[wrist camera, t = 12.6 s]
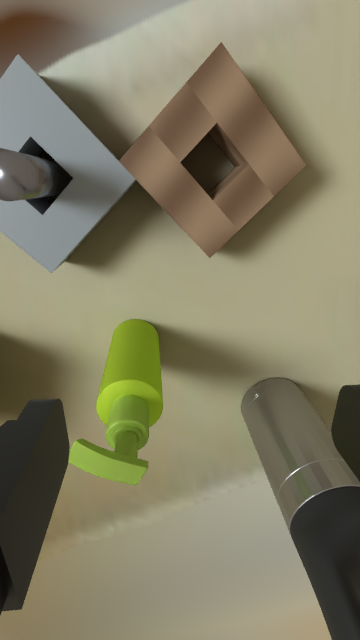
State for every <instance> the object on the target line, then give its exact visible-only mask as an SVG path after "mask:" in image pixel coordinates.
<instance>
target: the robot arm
mask: <svg viewBox="0 0 360 640" xmlns="http://www.w3.org/2000/svg"><path fill="white" fill-rule="evenodd" d="M241 411H242V415H243V418H244V420H245V423H246V425H247V428H248V430H249V433H250V436H251V438H252V440H253V443H254V445H255V448H256V450H257V453H258V455H259V458H260V460H261V463H262V465H263V468H264V470H265V473H266V475H267V478H268V480H269V483H270V485H271V488H272V490H273V493H274V495H275V498H276V500H277V502H278V505H279V507H280V510H281V512H282V515H283V517H284V520H285V522H286V525H287V527H288V530H289V532H290V534H291V537H292V539H293V542H294V544H295V546H296V548H297V551H298V553H299V556H300V558H301V560H302V563H303V565H304V567H305V570H306V572H307V575H308V577H309V579H310V582H311V584H312V587H313V589H314V592H315V594H316V597H317V599H318V602H319V605H320V607H321V610H322V613H323V615H324V618H325V621H326V624H327V626H328V629H329V632H330V635H331V638H332V640H360V385H345V386H343V387H342V388H341V390H340V392H339V396H338V401H337V405H336V410H335V414H334V419H333V423H332V429H331V430H330V429H329V428H328V426H327V425H326V424H325V422H324V421H323V419H322V418H321V417H320V415H319V414H318V413H317V411H316V410H315V409H314V407H313V406H312V404H311V403H310V401H309V400H308V399H307V397H306V396H305V395H304V393H303V392H302V391H301V389H300V388H299V387H298V386H297V385H296V384H295V383H294V382H292V381H290V380H287V379H283V378H272V379H268V380H264V381H262V382H260V383H258V384H256V385H255V386H253V387H252V388H251V389H250V390H249V391H248V392H247V394H246V395H245V397H244V399H243V401H242V406H241ZM68 460H69V439H68V433H67V428H66V422H65V416H64V410H63V405H62V402H61V400H60V399H44V400H30V401H29V402H28V403H27V404H26V406H25V408H24V409H23V411H22V413H21V414H20V416H19V418H18V419H17V420H10V421H7V422H5V423H4V424H3V425H2V426H1V427H0V614H1V612H2V611H9V610H19V609H22V606H23V603H24V600H25V597H26V594H27V591H28V587H29V585H30V581H31V578H32V575H33V572H34V569H35V566H36V563H37V560H38V556H39V553H40V550H41V547H42V544H43V541H44V538H45V534H46V531H47V528H48V525H49V522H50V519H51V516H52V513H53V509H54V506H55V503H56V500H57V497H58V494H59V491H60V488H61V484H62V481H63V478H64V475H65V472H66V469H67V465H68Z"/></svg>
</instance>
